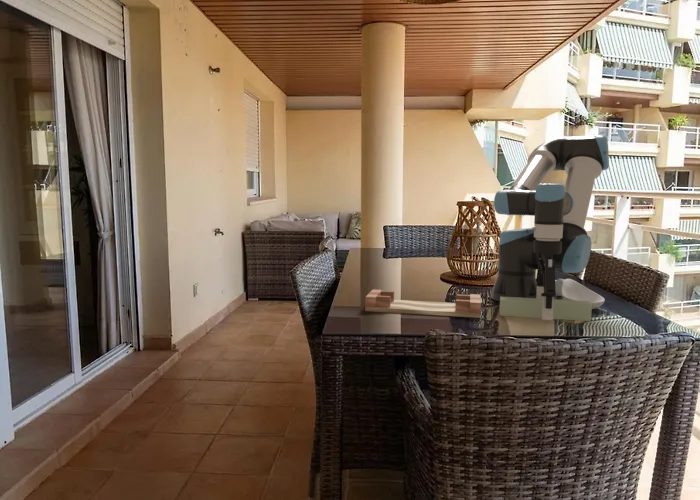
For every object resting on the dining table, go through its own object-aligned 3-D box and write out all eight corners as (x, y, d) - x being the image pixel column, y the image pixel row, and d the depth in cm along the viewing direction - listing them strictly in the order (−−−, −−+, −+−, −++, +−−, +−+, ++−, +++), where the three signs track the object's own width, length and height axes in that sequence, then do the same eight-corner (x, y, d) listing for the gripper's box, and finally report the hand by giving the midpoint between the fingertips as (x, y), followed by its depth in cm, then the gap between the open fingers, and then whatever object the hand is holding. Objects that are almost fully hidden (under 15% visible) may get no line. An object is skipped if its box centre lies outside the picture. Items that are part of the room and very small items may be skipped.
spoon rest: (612, 313, 151) (613, 289, 150) (573, 313, 150) (575, 289, 149) (571, 296, 174) (572, 275, 174) (538, 296, 174) (539, 275, 173)
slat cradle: (372, 302, 163) (372, 289, 162) (479, 308, 155) (480, 294, 155) (365, 310, 151) (365, 297, 151) (480, 317, 144) (481, 303, 143)
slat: (499, 313, 151) (500, 296, 150) (587, 318, 145) (588, 301, 144) (500, 316, 147) (500, 299, 146) (590, 322, 141) (591, 304, 140)
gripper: (528, 235, 156) (525, 303, 159) (539, 243, 132) (535, 324, 134) (554, 235, 154) (551, 304, 157) (570, 244, 130) (565, 326, 133)
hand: (543, 313), depth 146 cm, fingers open, 13 cm apart
